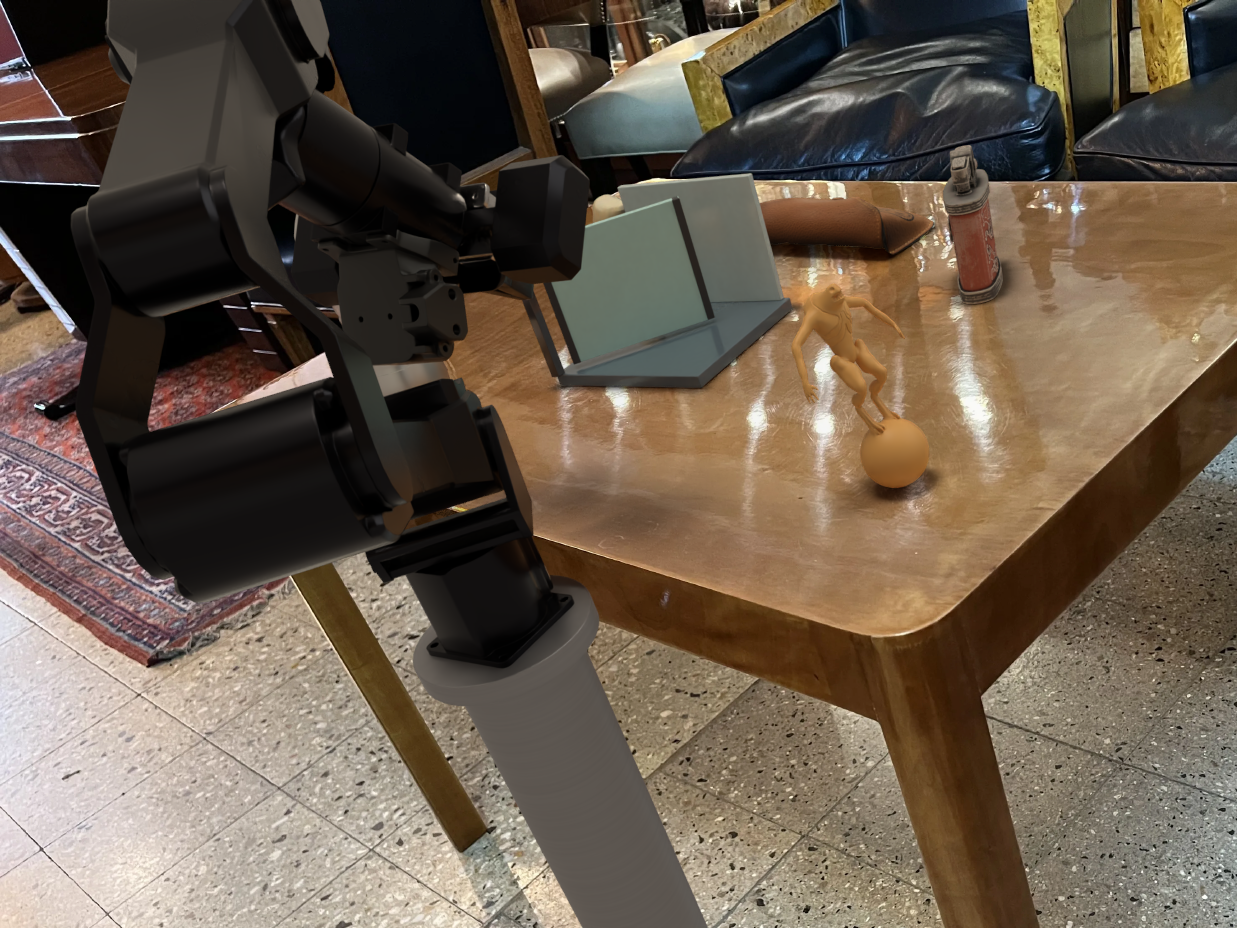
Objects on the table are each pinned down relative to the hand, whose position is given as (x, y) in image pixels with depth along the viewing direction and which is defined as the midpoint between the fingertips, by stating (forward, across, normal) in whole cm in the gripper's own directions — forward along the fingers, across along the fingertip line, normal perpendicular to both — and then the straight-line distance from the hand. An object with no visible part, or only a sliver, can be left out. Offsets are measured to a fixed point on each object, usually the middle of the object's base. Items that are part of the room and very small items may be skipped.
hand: (528, 292), depth 74 cm
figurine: (+6, +23, -11) cm, 26 cm away
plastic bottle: (+15, -22, -2) cm, 27 cm away
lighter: (+27, +21, +10) cm, 36 cm away
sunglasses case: (+37, +4, +19) cm, 42 cm away
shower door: (+20, -4, +4) cm, 21 cm away
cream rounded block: (+32, -14, +15) cm, 38 cm away
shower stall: (+22, -2, +4) cm, 22 cm away
